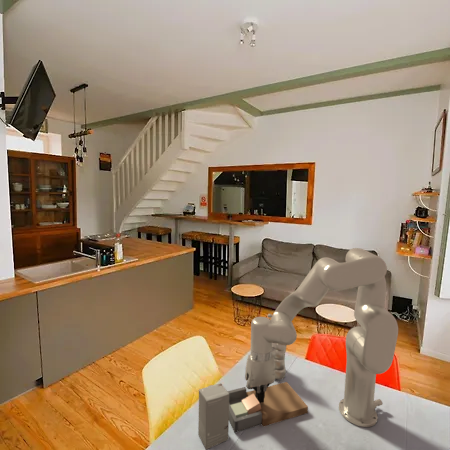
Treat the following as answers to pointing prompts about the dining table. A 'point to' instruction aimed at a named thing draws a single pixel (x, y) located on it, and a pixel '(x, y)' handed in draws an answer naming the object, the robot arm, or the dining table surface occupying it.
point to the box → (243, 421)
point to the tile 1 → (239, 409)
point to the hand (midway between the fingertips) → (259, 400)
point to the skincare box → (213, 415)
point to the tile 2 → (251, 404)
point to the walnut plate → (280, 404)
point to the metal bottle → (279, 360)
